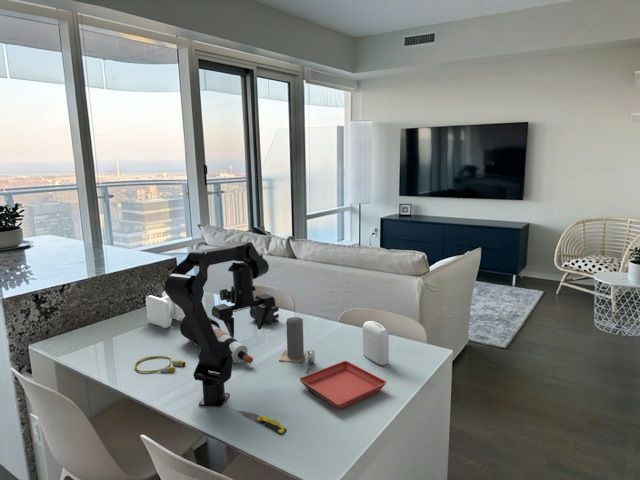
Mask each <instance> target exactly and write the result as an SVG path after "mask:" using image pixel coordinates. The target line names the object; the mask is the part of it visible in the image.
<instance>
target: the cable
mask: <svg viewBox="0 0 640 480" xmlns="http://www.w3.org/2000/svg"><path fill="white" fill-rule="evenodd" d="M208 318H209V320H210V323H211V325H212V327H213V330H214V332H215V334H216V337H217V339H218V341H222V342H227V343H228V344H229V347H230V350H231V351H232V352H233V353H232V354H231V355H232V358H233V363H236V364H238V363H237V362H239V361H241V362H246V363H248V364H249V365H251V364H252V363H253V362H254V358H253V357H252V356H251V355H249V354H248V352H249V350H248V347H247V346H246V345H244V344H243V343H241V342H240V341H238V340H237V339H235V338H232V337H231V336H230V334H229V333H227V332H225V331H224V330H222V329H221V328H220V327H221V326H220V325H219V323H218V322H217V321H216V320H214V319H212V318H211V317H209V316H208ZM179 331H180V334H181V335H182V336H183V337H184V338H185V339H187V340H188V341H190V342H192V343H194V344H195V345H196V346H198V347H199V345H198V342H197V340H196V338H195V336H194V334H193V332H192V329H191V327H190V325H189V323H188V321H187V318H186V316H185V317H184V318H183V320H182V322H181V321H180V325H179ZM242 360H243V361H242ZM239 363H240V362H239Z"/></svg>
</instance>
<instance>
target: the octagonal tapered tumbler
mask: <svg viewBox="0 0 640 480" xmlns="http://www.w3.org/2000/svg"><path fill="white" fill-rule="evenodd" d="M304 346H305V345H304V319H303V318H302V317H299V316H298V317H297V316H295V317H294V316H292V317H289V318H287V319H286V348H287V349H286V350H287V353H288V358H290V359H300V358H303V356H304V351H305V349H304Z"/></svg>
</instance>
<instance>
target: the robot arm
mask: <svg viewBox="0 0 640 480" xmlns="http://www.w3.org/2000/svg"><path fill="white" fill-rule="evenodd" d="M263 256H264V255H263V254H262V253H259V252H258V251H257V249H256V247H255V246H254V243H253V242H251V241H237V240H232V241H230V242H228V243H225V246H220V247H213V248H207V249H206V248H205V249H201V250H200V249H199V250H197V249H195V250H192V251H189V252H188V254H187V256H186V257H185V259H184V260H182V261H181V262H180V263H178V264H177V265H175V267H174V268H173V269H172V271H171V273H170V274H169V276H168V277H167V278H166V281H164V286H163V287H164V291H165V292H166V294H167V295H168V296H169V298H170V299H171V301H172V302H174V303H175V304H176V305H177V306H179V307H180V308H181V309H182V310H183V312H184V314H185V316H186V318H187V321H188V323H189V325H190V327H191V329H192V332H193V334H194V336H195V338H196V340H197V342H198V345H199V346H198V345H197V346H198V347H199V348H200V349H199V353H198V355H197V356H198V357H197V358H198V363H197V365H196V367H195V370H194V371H193V374H192V375H193V378H194V381H201V382H202V394H203V395H202V397H201V399H200V400H199V402H198V405H199V406H206V407H216V408H221V407H222V406H223V405H224V404H225V402H226V401H227V399H228V398H229V397H230V395H231V394H230V392H225V383H226V382H228V381H229V380H230V379H231V378H232V372H233V365H234V361H233V358H232V355H231V354H232V353H233V352H232V351H231V350H230V347H229V344H228V343H227V342H222V341H218V339H217V337H216V334H215V332H214V330H213V327H212V325H211V323H210V320H209V318H210V317H209V316H208V313H207V311H206V309H205V307H204V305H203V302H202V301H203V297H204V295H205V290H204V287H205V285H206V283H207V281H208V272H209V271H208V269H209V267H210V266H213V265H216V264H223V263H227V262H232V264H231V265H230V266H229V267H228V269H227V271H228V272H232V280H233V281H232V283H233V284H232V285H231V288H230V290H228V289H227V288H224V289H220V290H219V298H220V301H225V302H226V303H231V304H232V305H227V304H226V303H222V304H221V303H220V304H216V305H213V307H211V308H212V309H211V316H213V317H214V318H216V319H218V320H220V321H222V322H223V323H224V325H225V327H226V329H227V331H228V334H229V335H230V336H231V337H232V338H234V337H235V318H234V317H233V315H234V313H235V312H240V311H243V310H246V309H250V308H251V307H255V308H256V310H257V320H256V327H257V329H258V331H259V330H260V331H261V330H262V328H263V325H264V323H265V322H264V320H265V318H266V316H267V315H268V313H269V311H270V310H271V309H272V307H273V306H277V304H276V303H277V302H276V298H275V297H274V296H272V295H270V294H267V293H262V294H259V295H256V296H255V297H254V291H256V289H257V288H256V286H254V280H255V279H258V278H260V277H261V276H263V275H266V274H267V273H268V272H269V270H270V269H269V268H270V266H269V264H268V261H267V260H266V259H265V258H264V257H263ZM233 261H236V262H233ZM195 267H198V272H197V274H196V275H194V274H188V273H189V272H190V271H192V269H194V268H195ZM208 317H209V318H208ZM234 339H235V338H234Z"/></svg>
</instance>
